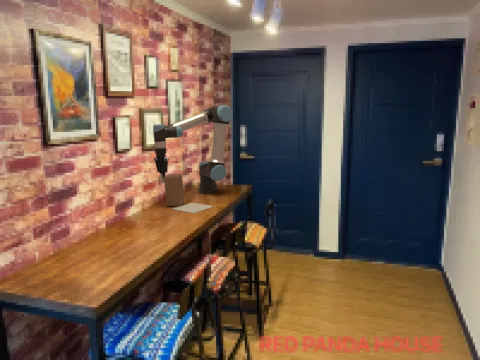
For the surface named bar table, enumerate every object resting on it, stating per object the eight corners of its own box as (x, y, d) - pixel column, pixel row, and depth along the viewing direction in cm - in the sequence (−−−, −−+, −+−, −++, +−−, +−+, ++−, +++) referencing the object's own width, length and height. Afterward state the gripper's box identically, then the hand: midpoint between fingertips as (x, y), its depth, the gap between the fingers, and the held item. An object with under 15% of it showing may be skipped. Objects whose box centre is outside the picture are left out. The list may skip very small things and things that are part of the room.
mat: (192, 203, 249) (192, 202, 249) (214, 206, 236) (214, 206, 236) (171, 209, 235) (171, 208, 235) (193, 213, 223) (193, 213, 223)
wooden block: (185, 202, 250) (182, 173, 247) (181, 206, 240) (178, 175, 237) (170, 203, 251) (167, 174, 248) (166, 206, 241) (163, 176, 238)
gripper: (149, 148, 247) (152, 182, 251) (162, 148, 239) (165, 184, 243) (158, 146, 252) (161, 180, 257) (171, 147, 244) (173, 182, 249)
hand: (163, 182), depth 250 cm, fingers closed
